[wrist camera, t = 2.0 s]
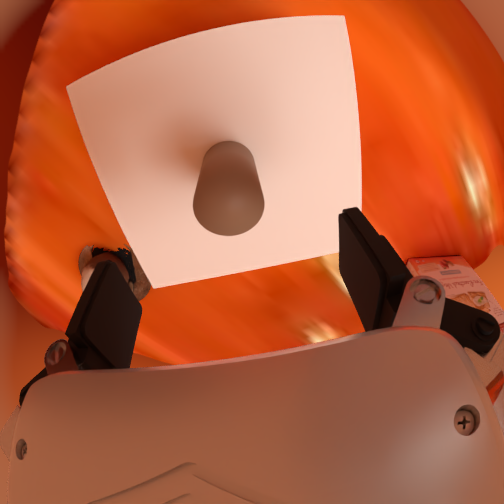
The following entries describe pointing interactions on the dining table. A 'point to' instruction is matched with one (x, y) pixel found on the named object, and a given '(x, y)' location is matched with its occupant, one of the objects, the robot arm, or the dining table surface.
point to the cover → (227, 145)
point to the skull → (125, 264)
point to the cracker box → (458, 283)
